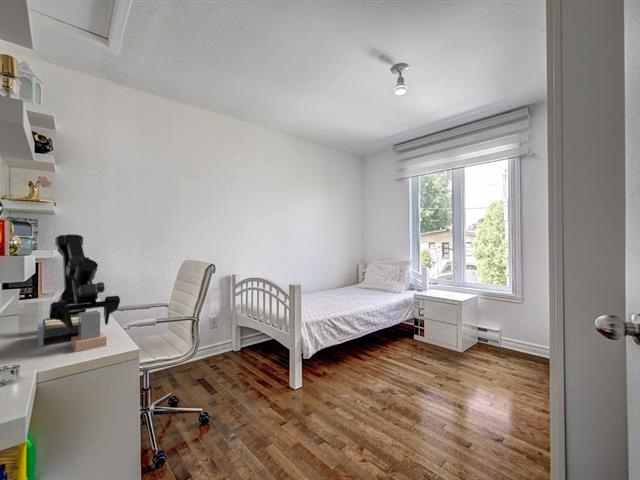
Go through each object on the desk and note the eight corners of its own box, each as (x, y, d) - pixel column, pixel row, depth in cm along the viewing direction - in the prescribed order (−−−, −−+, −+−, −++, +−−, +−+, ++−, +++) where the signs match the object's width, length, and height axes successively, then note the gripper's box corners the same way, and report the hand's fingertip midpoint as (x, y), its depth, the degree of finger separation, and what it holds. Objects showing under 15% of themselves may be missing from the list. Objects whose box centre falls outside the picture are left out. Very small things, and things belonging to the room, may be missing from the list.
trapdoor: (43, 323, 107) (43, 318, 107) (87, 317, 116) (87, 313, 116) (44, 330, 99) (44, 325, 99) (91, 323, 107) (91, 318, 107)
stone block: (71, 346, 98) (71, 337, 98) (100, 340, 104) (100, 331, 104) (75, 351, 93) (75, 342, 93) (106, 345, 99) (106, 336, 99)
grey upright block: (77, 337, 99) (78, 313, 99) (96, 333, 102) (96, 310, 102) (81, 340, 95) (81, 315, 95) (99, 336, 99) (100, 312, 99)
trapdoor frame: (37, 337, 107) (38, 319, 108) (90, 329, 118) (91, 313, 118) (38, 347, 97) (38, 327, 97) (96, 337, 107) (97, 319, 108)
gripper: (51, 277, 95) (55, 317, 87) (119, 273, 109) (128, 307, 101) (47, 298, 100) (51, 338, 92) (112, 292, 114) (120, 326, 106)
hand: (90, 326), depth 98 cm, fingers open, 9 cm apart
